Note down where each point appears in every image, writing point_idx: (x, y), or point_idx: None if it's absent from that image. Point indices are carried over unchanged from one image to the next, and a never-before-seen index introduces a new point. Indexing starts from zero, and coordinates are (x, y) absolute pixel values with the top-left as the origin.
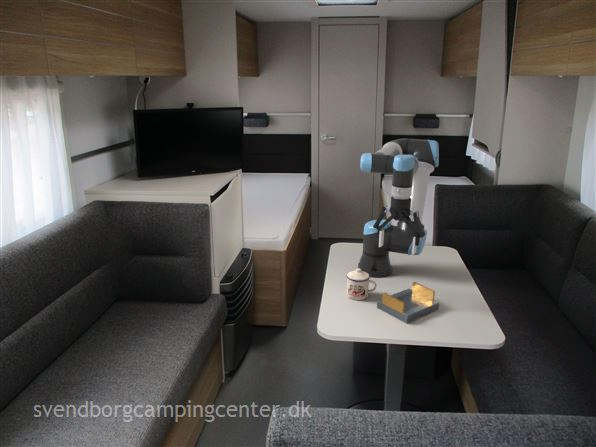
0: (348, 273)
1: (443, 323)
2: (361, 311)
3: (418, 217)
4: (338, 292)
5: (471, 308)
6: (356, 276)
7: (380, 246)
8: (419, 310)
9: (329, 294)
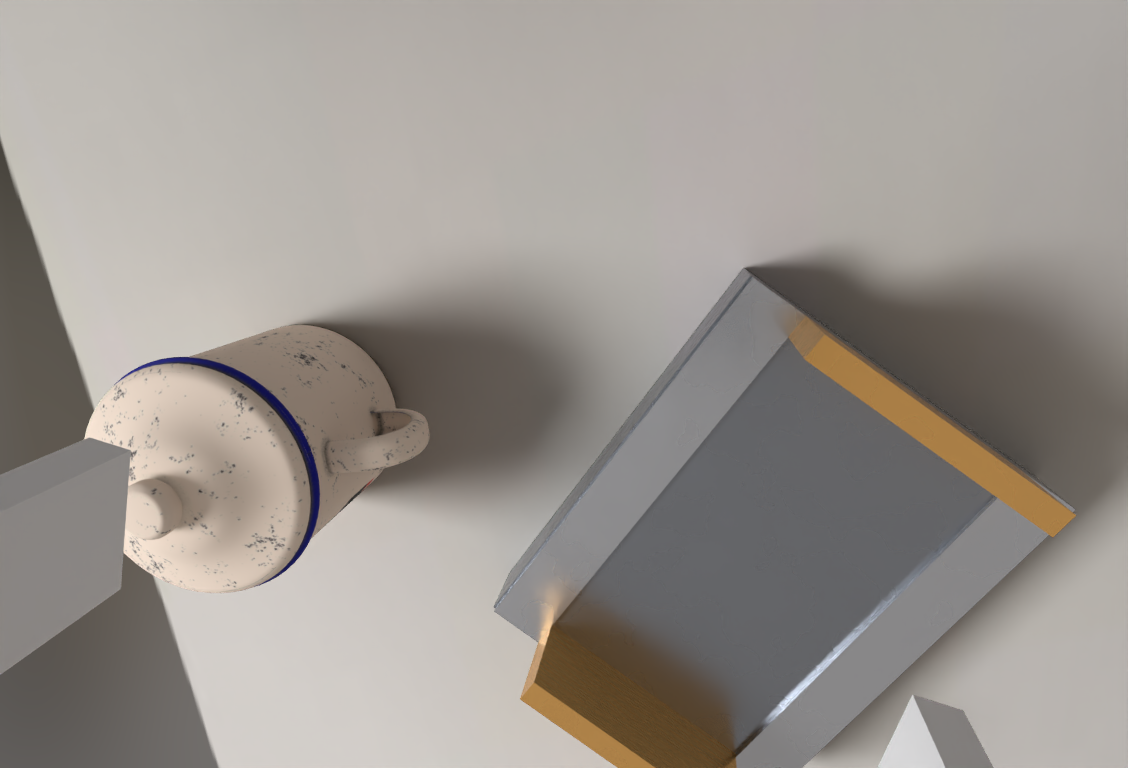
0: None
1: (1056, 693)
2: (415, 650)
3: None
4: None
5: None
6: (187, 566)
7: (108, 596)
8: (866, 706)
9: None
